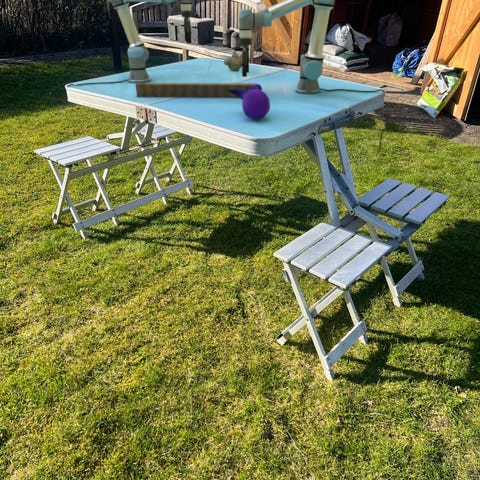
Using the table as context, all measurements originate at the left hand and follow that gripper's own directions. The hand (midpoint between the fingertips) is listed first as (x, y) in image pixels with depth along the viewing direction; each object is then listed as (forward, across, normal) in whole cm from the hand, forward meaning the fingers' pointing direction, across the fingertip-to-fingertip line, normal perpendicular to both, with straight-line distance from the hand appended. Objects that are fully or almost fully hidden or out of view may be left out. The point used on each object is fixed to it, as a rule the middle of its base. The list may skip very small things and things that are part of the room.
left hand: (188, 42), depth 338 cm
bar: (+25, -68, +7) cm, 73 cm away
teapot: (+24, +12, -40) cm, 48 cm away
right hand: (+11, -80, -23) cm, 84 cm away
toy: (+24, -127, -13) cm, 130 cm away
